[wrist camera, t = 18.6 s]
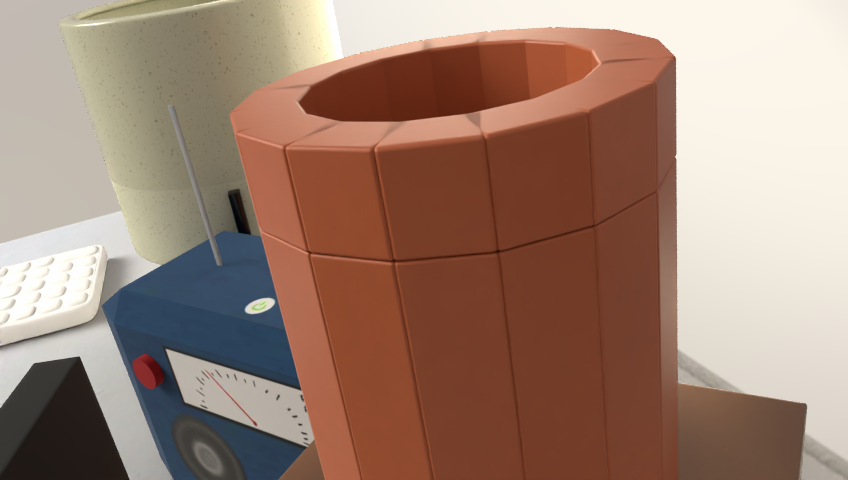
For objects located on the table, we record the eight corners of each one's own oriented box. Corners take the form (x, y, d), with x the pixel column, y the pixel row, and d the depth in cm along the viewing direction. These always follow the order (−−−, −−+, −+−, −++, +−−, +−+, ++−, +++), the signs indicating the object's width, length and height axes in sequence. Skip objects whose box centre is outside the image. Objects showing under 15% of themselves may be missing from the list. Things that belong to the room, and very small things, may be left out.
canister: (279, 592, 19) (134, 142, 14) (434, 388, 26) (373, 36, 21) (627, 725, 15) (597, 153, 10) (702, 440, 22) (707, 17, 17)
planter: (241, 276, 62) (160, -13, 53) (420, 282, 57) (367, -39, 47) (120, 387, 49) (-16, 34, 40) (335, 410, 44) (237, 4, 34)
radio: (147, 494, 40) (0, 137, 32) (263, 399, 46) (165, 80, 38) (486, 661, 28) (393, 164, 20) (579, 504, 35) (537, 75, 26)
